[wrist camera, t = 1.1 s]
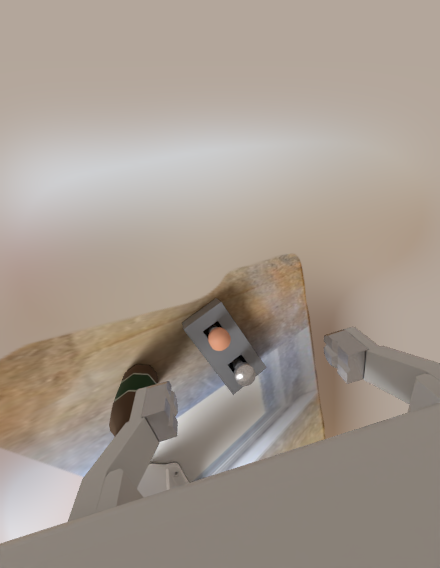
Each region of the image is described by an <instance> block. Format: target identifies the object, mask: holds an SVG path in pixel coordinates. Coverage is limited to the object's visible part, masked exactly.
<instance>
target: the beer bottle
mask: <svg viewBox="0 0 440 568" xmlns="http://www.w3.org/2000/svg"><path fill="white" fill-rule="evenodd" d="M155 384H157V373H156V372H155V371H154V370H153V369H152V367H151V366H150V365H138V364H136V365H135V366H134V367H132V368H131V369H130V370H128V371H127V372H125V374H124V376H123V379H122V382H121V384H120V387H119V389H118V392H117V395H116V397H115V400H114V403H113V407H112V412H111V418H110V424H109V426H110V431H111V432H112V433H113V435H114V436H116V435H117V434H118V432H119V431H120V430H121V429H122V427H123V426H124V425H125V423H127V422H129V420H130V416H131V412H132V407H133V403H134V399H135V394H136V391H137V390H138V389H141V388H144V387H148V386H151V385H155Z"/></svg>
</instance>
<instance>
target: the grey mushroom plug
mask: <svg viewBox="0 0 440 568" xmlns="http://www.w3.org/2000/svg"><path fill="white" fill-rule="evenodd" d="M232 365H233V367H234V368H235V370H234V377H235V379H236V381H237V382H238V384H240V385H242V386H247V385H250V384H251V383H252V382H253V381H254V379H255V377H256V373H255V370H254V369H253V367H252V366H251V365H250V364H249V363H243V362H242V360H241V359H240V358H236V359H234V360H233V362H232Z"/></svg>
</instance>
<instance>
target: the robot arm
mask: <svg viewBox="0 0 440 568" xmlns="http://www.w3.org/2000/svg"><path fill="white" fill-rule="evenodd" d="M324 342H325V343H326V346H325V347H324V354H325V357H326V359H327V361H328V362H329V363H330V365H331V366H333V367H335V368H337V369H338V374H339V375H340V376H341V377H342V379H343V380H344V381H345V382H346V383H347V384H348V383H351V382H355V381H359V380H362V379H364V380H365V381H367V382H368V383H370V384H372V385H374V386H376V387H378V388H380V389H382V390H383V391H385V392H387V393H389V394H391V395H393V396H395V397H397V398H398V399H400V400H402V401H404V402H406V403H408V404H410V405H409V409H408V413H405V414H402V415H399V416H396V417H393V418H390V419H387V420H384V421H381V422H377V423H374V424H371V425H368V426H365V427H362V428H359V429H356V430H353V431H349V432H347V433H343V434H340V435H337V436H334V437H331V438H328V439H325V440H321V441H318V442H315V443H312V444H309V445H306V446H303V447H300V448H296V449H293V450H290V451H287V452H284V453H281V454H278V455H275V456H272V457H268V458H265V459H262V460H259V461H256V462H253V463H250V464H247V465H243V466H240V467H237V468H234V469H231V470H228V471H225V472H222V473H219V474H215V475H212V476H209V477H206V478H203V479H200V480H197V481H194V482H191V483H189V482H188V480H187V478H186V476H185V475H184V473H183V471H182V469H181V467H180V466H179V464H178V463H169V464H149V463H150V461H151V459H152V457H153V455H154V453H155V451H156V449H157V447H158V445H159V442H161V441H164V440H167V439H170V438H173V437H175V436H177V426H178V421H177V419H176V417H175V416H176V415H177V413H178V404H177V399H176V395H175V393H174V392H173V391H171V384H170V382H169V381H166V382H162V383H159V384H155V385H151V386H148V387H144V388H141V389H138V390H137V391H136V394H135V399H134V403H133V407H132V412H131V416H130V420H129V422H127V423H125V425H124V426H123V427H122V429H121V430H120V431H119V432H118V434H117V435H116V436H115V438H114V439H113V440H112V442H111V443H110V444H109V445H108V447H107V448H106V449H105V451H104V452H103V453H102V454H101V456H100V457H99V458H98V460H97V461H96V462H95V464H94V465H93V466H92V467H91V469H90V470H89V471H88V473H87V474H86V475H85V477H84V478H83V479H82V483H81V485H80V488H79V491H78V494H77V497H76V499H75V502H74V505H73V508H72V511H71V514H70V517H69V520H68V522H67V523H63V524H60V525H57V526H54V527H51V528H47V529H44V530H41V531H38V532H35V533H32V534H29V535H26V536H23V537H19V538H16V539H13V540H10V541H7V542H4V543H1V544H0V568H440V363H437V362H434V361H430V360H427V359H424V358H421V357H417V356H414V355H411V354H408V353H405V352H401V351H398V350H395V349H391V348H388V347H385V346H378V345H377V344H376V343H374V342H373V341H372V340H371V339H370V338H368V337H367V336H366V335H364V334H363V333H362V332H361V331H359V330H358V329H356V328H355V327H350V328H347V329H343V330H340V331H337V332H334V333H330V334H327V335H325V336H324Z"/></svg>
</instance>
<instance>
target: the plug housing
mask: <svg viewBox="0 0 440 568" xmlns="http://www.w3.org/2000/svg"><path fill="white" fill-rule="evenodd" d="M216 321H218V322H219V323H220V325H221V326H222V328H224V329H225V330H226V331H227V332H228V333H229V335H230V337H231V341H230V344H229V346H228V347H227V348H226V349H225V350H222V351H216V350H214V349H213V348H212V347H211V346H210V344H209V342H208V337H207V336H206V335H205V333H204V332H203V331H204V330H206V329H207V328H208V327H210V326H211V325H212V324H214V323H215V322H216ZM182 325H183V330H184V331H185V332H186V333H187V335H188V336H189V337H190V339H191V340H192V341H193V343H194V344H195V345H196V347H197V348H198V349H199V350H200V352H201V353H202V354H203V356H204V357H205V358H206V360H207V361H208V362H209V364H210V365H211V366H212V368H213V369H214V370H215V371H216V373H217V374H218V375H219V377H220V378H221V379H222V381H223V382H224V383H225V385H226V386H227V387H228V388H229V390H230V391H231V392H232V394H233V395H234V394H235V393H236V392H237V391H238V390H240V389H241V388H242V387H243V386H242V385H240V384H238V382H237V381H236V379H235V377H234V373H233V371H232V370H231V369H230V367H229V366H228V364H229V363H230V362H232V361H233V360H234V359H236V358H237V357H238V356H239V355H241V354H242V356H243V357H244V359H245V360H246V362H247V363H249V364H250V365H251V366H252V367H253V369H254V370H255V373H256V376H257V375H258V374H259V373H261V372H262V371H263V370H264V369H266V366H265V365H264V363H263V362H262V361H261V359H260V358H259V356H258V355H257V353H256V352H255V350H254V349H253V347H252V346H251V345H250V343H249V342H248V340H247V339H246V337H245V336H244V334H243V333H242V331H241V330H240V329H239V327H238V326H237V324H236V323H235V321H234V320H233V318H232V317H231V315H230V314H229V313H228V311H227V310H226V308H225V307H224V305H223V304H222V302H221V301H219V300H218V299H217V298H215V299H214V300H213V301H211V302H210V303H209V304H207V305H206V306H204V307H203V308H202V309H200V310H199V311H198V312H196V313H195V314H193V315H192V316H191V317H189V318H188V319H187V320H185V321H184V322H182Z"/></svg>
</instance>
